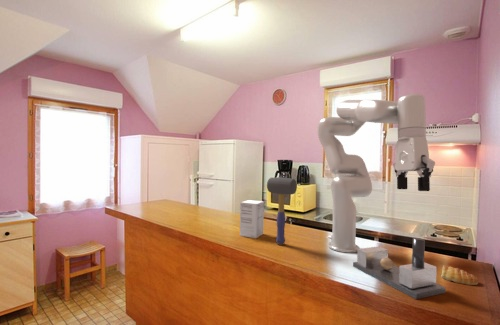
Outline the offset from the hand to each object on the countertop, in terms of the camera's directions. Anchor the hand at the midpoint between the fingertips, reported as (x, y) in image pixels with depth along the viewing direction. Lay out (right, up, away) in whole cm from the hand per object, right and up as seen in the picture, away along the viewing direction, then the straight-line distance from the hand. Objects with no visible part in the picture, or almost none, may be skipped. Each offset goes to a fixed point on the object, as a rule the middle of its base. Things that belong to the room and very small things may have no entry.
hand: (412, 190), depth 82 cm
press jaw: (-1, -27, -4) cm, 27 cm away
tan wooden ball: (-5, -25, +6) cm, 27 cm away
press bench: (-4, -29, +4) cm, 29 cm away
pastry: (+17, -30, +4) cm, 34 cm away
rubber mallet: (-37, -28, +37) cm, 59 cm away
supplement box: (-49, -28, +51) cm, 77 cm away
